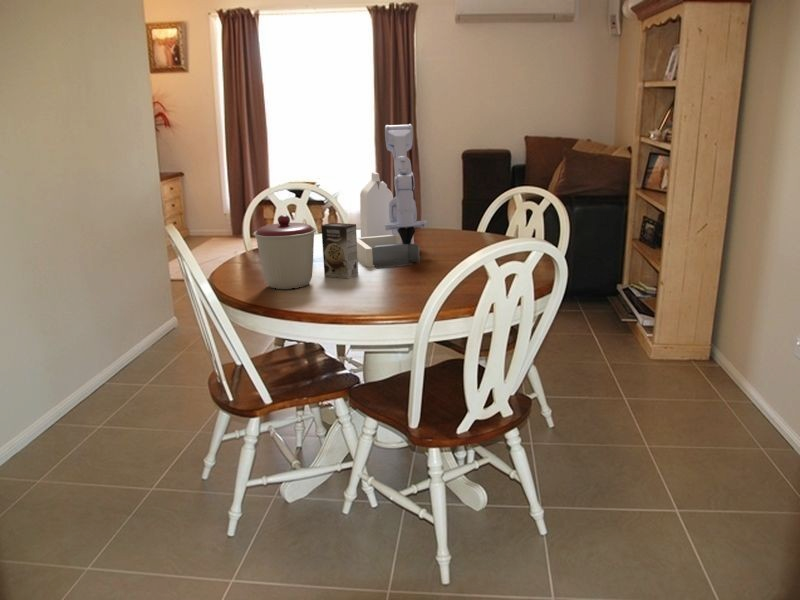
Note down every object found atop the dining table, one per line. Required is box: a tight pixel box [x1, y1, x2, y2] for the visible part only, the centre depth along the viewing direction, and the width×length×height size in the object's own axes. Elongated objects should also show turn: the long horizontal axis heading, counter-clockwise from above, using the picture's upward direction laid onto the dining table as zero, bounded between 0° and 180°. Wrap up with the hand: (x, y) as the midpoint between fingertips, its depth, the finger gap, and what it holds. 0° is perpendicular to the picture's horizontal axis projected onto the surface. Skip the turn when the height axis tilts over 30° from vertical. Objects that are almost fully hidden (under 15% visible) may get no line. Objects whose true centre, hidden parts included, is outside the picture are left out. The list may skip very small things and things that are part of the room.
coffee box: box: [320, 222, 359, 280], centre depth 220 cm, size 9×6×16 cm
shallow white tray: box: [357, 234, 402, 268], centre depth 244 cm, size 22×18×6 cm
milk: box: [359, 172, 394, 238], centre depth 274 cm, size 12×12×26 cm
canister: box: [253, 214, 317, 290], centre depth 209 cm, size 18×18×21 cm
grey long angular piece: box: [371, 243, 421, 269], centre depth 233 cm, size 6×16×6 cm, turn 106°
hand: (406, 249), depth 245 cm, fingers closed
